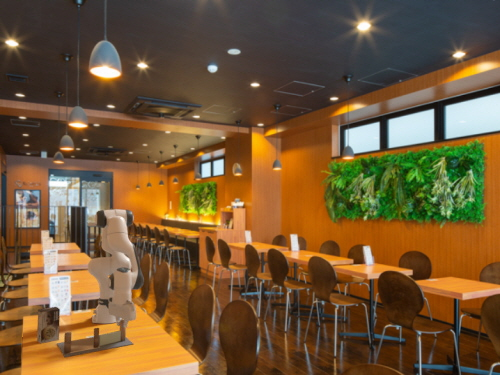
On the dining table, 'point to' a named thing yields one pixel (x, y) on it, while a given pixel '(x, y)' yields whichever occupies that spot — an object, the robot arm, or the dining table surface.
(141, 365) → the dining table surface
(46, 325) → the coffee box
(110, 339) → the gate
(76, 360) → the dining table surface
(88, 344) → the fence fixed
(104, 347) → the board
